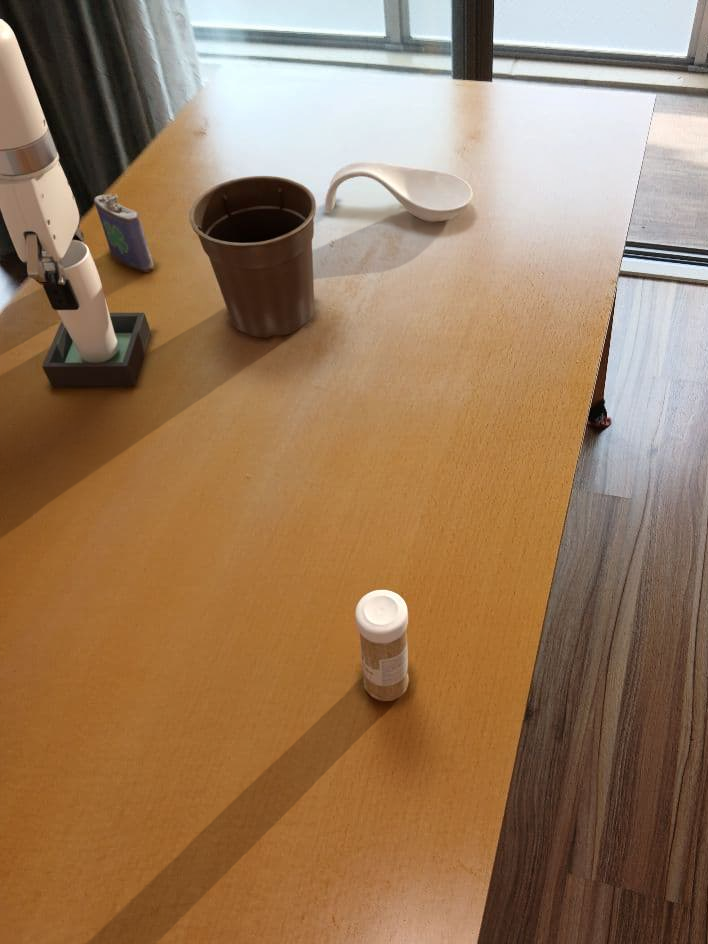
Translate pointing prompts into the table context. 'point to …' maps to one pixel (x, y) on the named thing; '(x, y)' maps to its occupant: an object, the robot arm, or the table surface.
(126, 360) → the cup holder
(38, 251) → the robot arm
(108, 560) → the table surface
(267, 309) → the plant pot
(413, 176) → the spoon rest
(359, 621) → the sprinkles bottle
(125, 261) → the flask
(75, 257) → the white tapered cylinder
